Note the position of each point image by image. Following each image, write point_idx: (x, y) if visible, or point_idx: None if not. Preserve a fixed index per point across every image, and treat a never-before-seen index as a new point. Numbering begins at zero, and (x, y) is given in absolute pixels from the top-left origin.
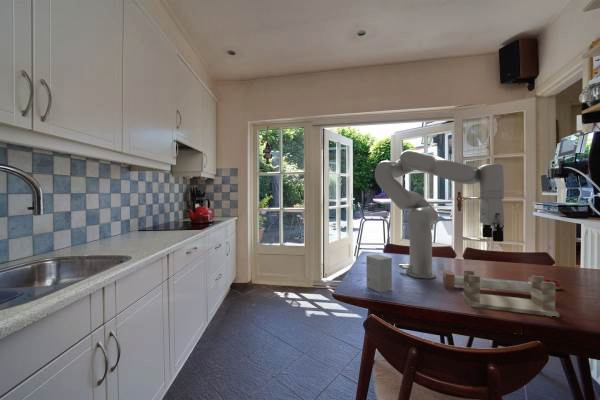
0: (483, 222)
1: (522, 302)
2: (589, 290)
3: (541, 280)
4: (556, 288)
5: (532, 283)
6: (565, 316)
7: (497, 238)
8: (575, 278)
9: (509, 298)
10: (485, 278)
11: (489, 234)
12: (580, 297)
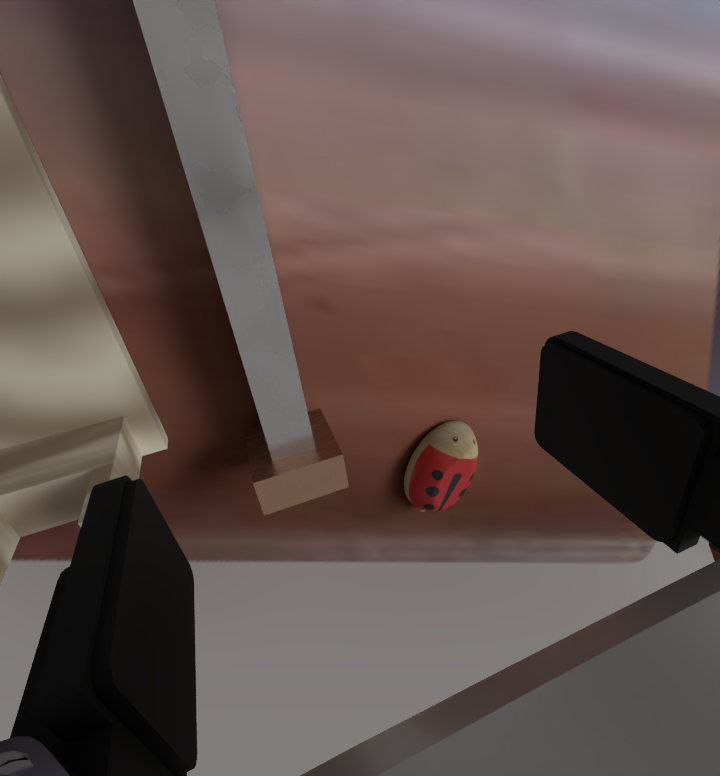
0: (689, 675)
1: (53, 381)
2: (437, 554)
3: None
4: (406, 493)
5: (93, 485)
6: None
7: (64, 585)
8: (552, 531)
9: (77, 328)
10: (256, 231)
11: (568, 437)
12: (347, 537)
